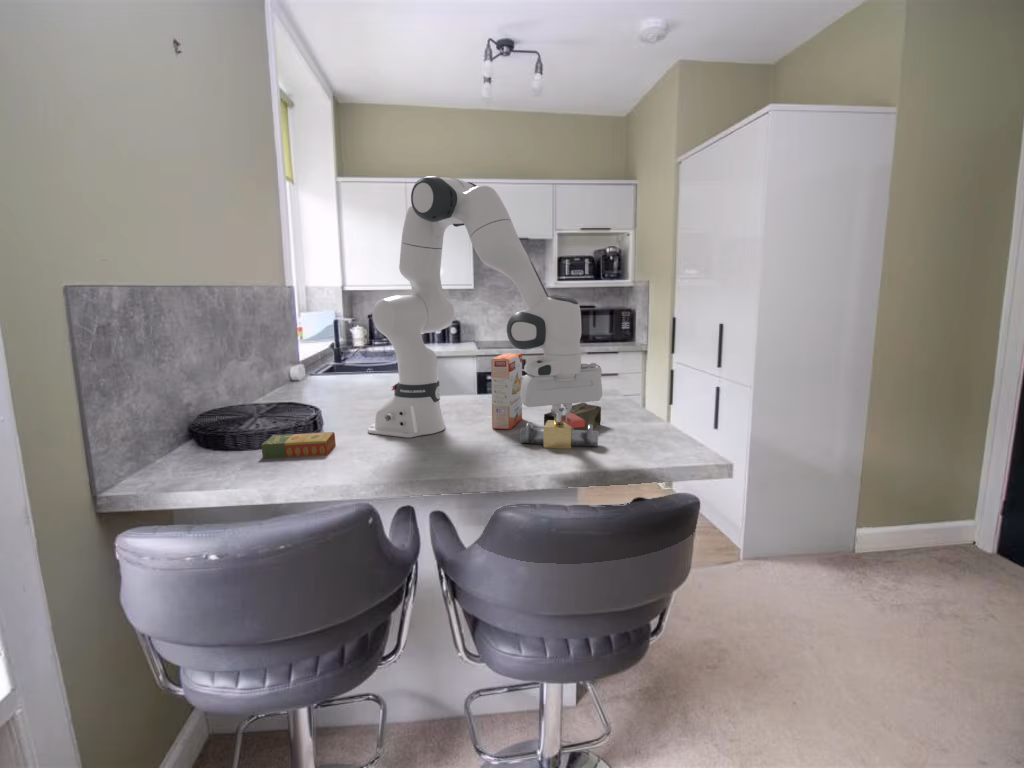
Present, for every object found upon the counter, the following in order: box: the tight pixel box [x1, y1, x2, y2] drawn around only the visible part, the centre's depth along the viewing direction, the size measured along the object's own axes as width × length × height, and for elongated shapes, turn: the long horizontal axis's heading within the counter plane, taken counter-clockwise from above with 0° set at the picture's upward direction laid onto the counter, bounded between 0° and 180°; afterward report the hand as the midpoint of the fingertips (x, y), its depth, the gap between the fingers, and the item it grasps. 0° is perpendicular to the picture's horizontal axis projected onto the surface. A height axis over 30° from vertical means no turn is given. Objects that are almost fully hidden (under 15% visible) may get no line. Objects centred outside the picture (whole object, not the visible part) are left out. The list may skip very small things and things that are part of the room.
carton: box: [261, 431, 337, 459], centre depth 133 cm, size 8×16×4 cm, turn 95°
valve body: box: [519, 416, 599, 450], centre depth 134 cm, size 20×7×8 cm, turn 77°
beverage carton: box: [543, 402, 602, 430], centre depth 147 cm, size 8×19×7 cm, turn 140°
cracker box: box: [490, 352, 523, 431], centre depth 154 cm, size 14×6×21 cm, turn 164°
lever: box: [550, 407, 585, 428], centre depth 128 cm, size 14×4×2 cm, turn 17°
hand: (561, 421), depth 125 cm, fingers closed
